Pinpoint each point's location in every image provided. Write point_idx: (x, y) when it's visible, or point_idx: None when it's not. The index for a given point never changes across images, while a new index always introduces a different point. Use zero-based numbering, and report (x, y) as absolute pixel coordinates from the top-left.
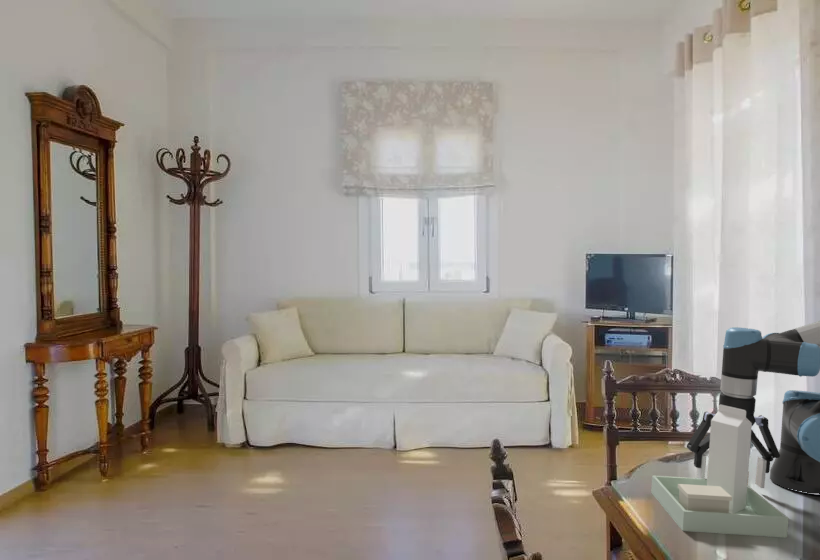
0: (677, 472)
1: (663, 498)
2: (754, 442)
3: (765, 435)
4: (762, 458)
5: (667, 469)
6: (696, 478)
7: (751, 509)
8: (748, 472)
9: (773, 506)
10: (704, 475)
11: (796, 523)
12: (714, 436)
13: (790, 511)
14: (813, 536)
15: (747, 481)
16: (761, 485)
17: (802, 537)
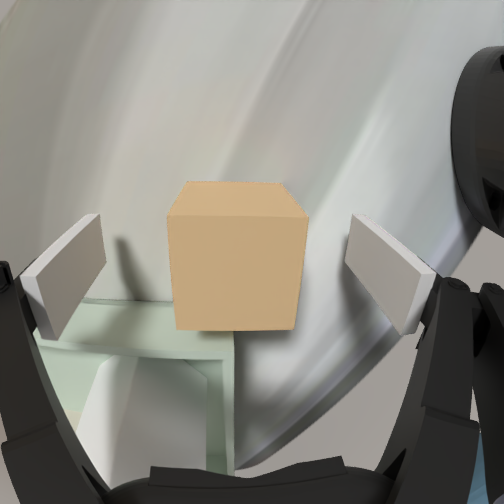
0: (91, 30)
1: None
2: (395, 426)
3: (487, 440)
4: (421, 303)
5: (67, 10)
6: (56, 342)
7: (222, 380)
8: (291, 327)
9: (232, 468)
10: (93, 280)
11: (305, 403)
12: None
13: (344, 349)
14: (297, 436)
15: (204, 447)
16: (349, 266)
17: (271, 442)
